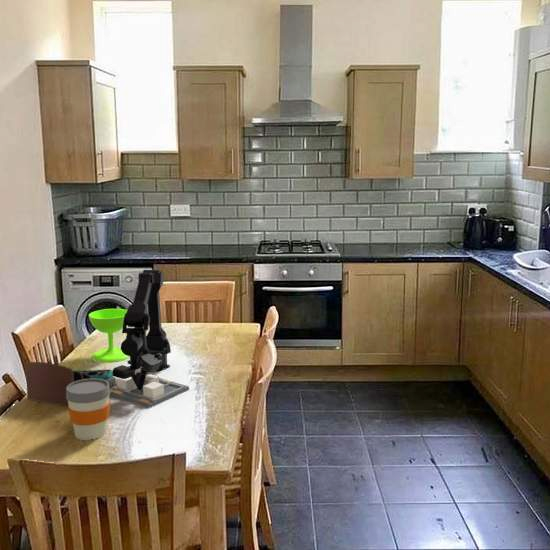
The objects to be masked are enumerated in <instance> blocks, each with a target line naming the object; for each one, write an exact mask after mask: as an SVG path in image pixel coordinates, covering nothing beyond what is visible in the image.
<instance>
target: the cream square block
mask: <svg viewBox="0 0 550 550" xmlns="http://www.w3.org/2000/svg"><path fill="white" fill-rule="evenodd" d="M143 393H144V396H146V397H149V398H152V399H156V398H158V397H160V396H162V395H164V384H161V383H157V382H152V383H149V384H147V385H145V386H143Z"/></svg>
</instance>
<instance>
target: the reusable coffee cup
mask: <svg viewBox="0 0 550 550" xmlns="http://www.w3.org/2000/svg"><path fill="white" fill-rule="evenodd" d="M110 390H111V388H110V387H109V383H108V381H106V380H103V379H95V378H92V379H83V380H78V381H75V382H73V383H71V384H69V385H68V386H67V388H66V399H67V400H68V407H67V411H68V414H69V415H68V416H69V419H70V420H69V421H70V422H71V423H72V426H73V427H72V428H73V431H74V436H75V438H76V439H78V440H82V441H92V440H91V439H93V440H96V438H97V439H100V438H102V437H104V436H105V435H106V434H105V433H107V429H108V428H107V427H108V418H109V416H110V409H111V408H110V405H111V401H110V396H111V395H110ZM104 434H105V435H104ZM103 435H104V436H103ZM101 436H102V437H101ZM99 437H100V438H99Z"/></svg>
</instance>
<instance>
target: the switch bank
mask: <svg viewBox="0 0 550 550" xmlns="http://www.w3.org/2000/svg"><path fill="white" fill-rule="evenodd" d="M159 383H161V384H164V395H162V396H160V397H158V398H156V399H152V398H149V397H146V396H144V393H143V390H138V388H137V387H136V388H133V389H131V390H128V391H127V390H123V389H120V388H118V387H117V386H114V387H112V389H110V395H109V396H113V397H116V398H119V399H121V400H124V401H127V402H131V403H134V404H137V405H139V406H143V407H145V406H146V408H149V407H150V408H152V406H153V407H155V406H157V405H159V404H161V403H163V402H166V401H167V400H170V399H172V398H174V397H177V396H178V394H179V395H181V394H182V392H183V393H185V392H188V391H189V390H190V386H189V385H186V384H185V385H184V384H182V383H178V382H175V381H172V380H168V379H165V378H162V377H159ZM180 393H181V394H180ZM171 397H172V398H171ZM169 398H170V399H169ZM165 400H166V401H165Z"/></svg>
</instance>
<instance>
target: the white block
mask: <svg viewBox="0 0 550 550" xmlns="http://www.w3.org/2000/svg"><path fill="white" fill-rule="evenodd" d="M116 383H117V384H116V385H117V387H118V388H120V389H123V390H127V391H128V390H131V389H133V388H136V387H137V386H136V385H135V383H134V381H133V379H132V378H131V377H129V378H127V379H121V378H118V377H116Z"/></svg>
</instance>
